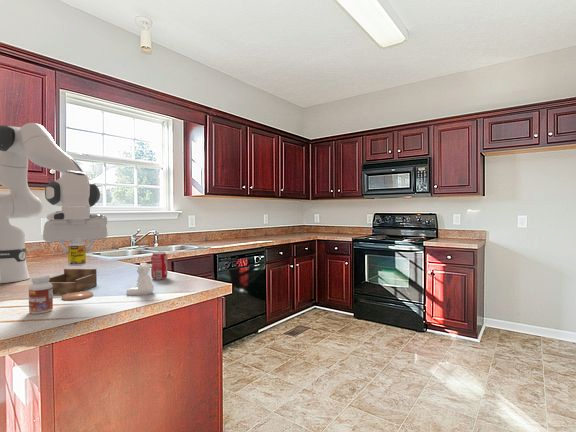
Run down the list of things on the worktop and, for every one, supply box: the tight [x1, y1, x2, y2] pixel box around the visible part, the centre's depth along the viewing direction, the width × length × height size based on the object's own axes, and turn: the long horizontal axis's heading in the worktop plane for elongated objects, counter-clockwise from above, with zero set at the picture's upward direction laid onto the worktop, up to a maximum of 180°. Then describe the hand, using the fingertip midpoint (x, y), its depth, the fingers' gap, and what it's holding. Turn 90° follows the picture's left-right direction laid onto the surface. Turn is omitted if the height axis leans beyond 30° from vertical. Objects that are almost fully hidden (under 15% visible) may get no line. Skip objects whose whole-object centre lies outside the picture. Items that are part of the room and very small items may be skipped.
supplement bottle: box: [67, 238, 87, 267], centre depth 128 cm, size 6×6×10 cm
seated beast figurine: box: [125, 262, 155, 296], centre depth 133 cm, size 10×9×12 cm
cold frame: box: [49, 268, 98, 294], centre depth 141 cm, size 14×14×7 cm
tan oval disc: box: [61, 290, 94, 301], centre depth 128 cm, size 10×10×1 cm
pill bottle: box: [28, 275, 54, 315], centre depth 110 cm, size 6×6×11 cm
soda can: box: [150, 251, 168, 281], centre depth 161 cm, size 7×7×12 cm
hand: (76, 252), depth 128 cm, fingers closed on supplement bottle, 6 cm apart
